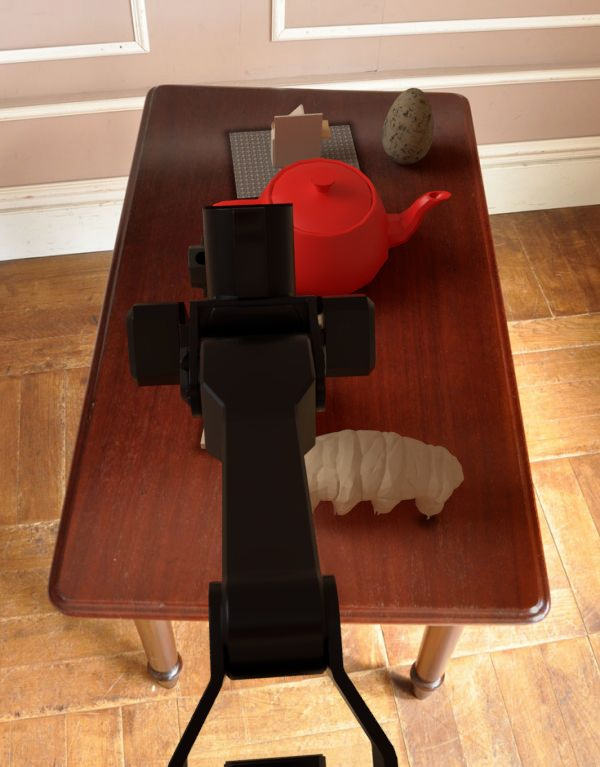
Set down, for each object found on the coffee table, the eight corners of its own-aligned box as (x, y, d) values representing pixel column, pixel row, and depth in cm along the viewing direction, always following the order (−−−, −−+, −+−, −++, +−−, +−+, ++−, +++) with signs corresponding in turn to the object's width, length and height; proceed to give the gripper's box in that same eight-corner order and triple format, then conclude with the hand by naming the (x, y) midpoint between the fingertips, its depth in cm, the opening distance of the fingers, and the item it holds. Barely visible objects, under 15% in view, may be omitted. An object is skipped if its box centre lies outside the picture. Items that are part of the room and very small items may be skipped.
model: (261, 468, 81) (260, 413, 72) (449, 469, 81) (469, 414, 73) (260, 533, 77) (258, 483, 69) (457, 534, 77) (479, 484, 69)
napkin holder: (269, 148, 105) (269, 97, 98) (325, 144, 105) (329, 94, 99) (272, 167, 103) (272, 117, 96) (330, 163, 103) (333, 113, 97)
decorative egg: (387, 179, 102) (397, 111, 94) (372, 146, 105) (381, 77, 97) (434, 172, 103) (449, 103, 95) (418, 139, 106) (431, 70, 98)
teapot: (211, 315, 90) (203, 235, 80) (213, 208, 99) (206, 123, 89) (446, 310, 91) (468, 231, 81) (428, 205, 100) (445, 121, 90)
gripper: (387, 231, 58) (356, 226, 73) (107, 241, 57) (135, 234, 72) (389, 393, 60) (359, 355, 75) (120, 406, 59) (144, 365, 74)
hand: (251, 325), depth 74 cm, fingers open, 9 cm apart
